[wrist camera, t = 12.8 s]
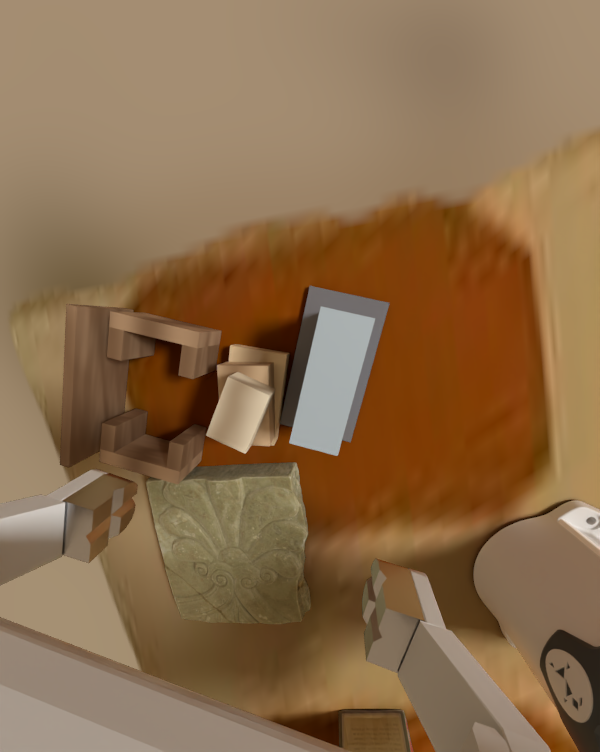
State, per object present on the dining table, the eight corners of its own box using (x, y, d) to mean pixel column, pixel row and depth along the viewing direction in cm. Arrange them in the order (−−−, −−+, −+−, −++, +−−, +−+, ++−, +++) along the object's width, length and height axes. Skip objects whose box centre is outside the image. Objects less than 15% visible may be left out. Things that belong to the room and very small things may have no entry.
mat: (388, 303, 28) (389, 302, 27) (350, 440, 31) (350, 442, 30) (310, 286, 28) (309, 285, 28) (280, 421, 31) (279, 423, 31)
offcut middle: (273, 362, 28) (267, 366, 26) (275, 436, 30) (269, 446, 27) (226, 361, 29) (216, 365, 27) (230, 433, 31) (221, 443, 28)
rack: (221, 331, 30) (188, 333, 24) (200, 461, 34) (166, 496, 27) (125, 308, 31) (66, 303, 25) (114, 437, 35) (60, 464, 28)
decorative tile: (188, 600, 39) (174, 627, 35) (157, 467, 35) (138, 482, 32) (322, 602, 36) (321, 631, 32) (302, 457, 33) (298, 473, 29)
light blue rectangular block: (364, 319, 28) (375, 318, 20) (337, 421, 30) (337, 456, 22) (325, 311, 28) (320, 306, 20) (301, 412, 30) (289, 443, 22)
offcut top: (276, 388, 26) (269, 395, 24) (253, 442, 28) (245, 453, 25) (237, 371, 26) (227, 376, 24) (217, 425, 28) (205, 435, 25)
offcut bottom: (290, 352, 31) (286, 354, 28) (278, 436, 33) (274, 445, 30) (238, 343, 31) (230, 345, 29) (229, 426, 33) (221, 434, 31)
